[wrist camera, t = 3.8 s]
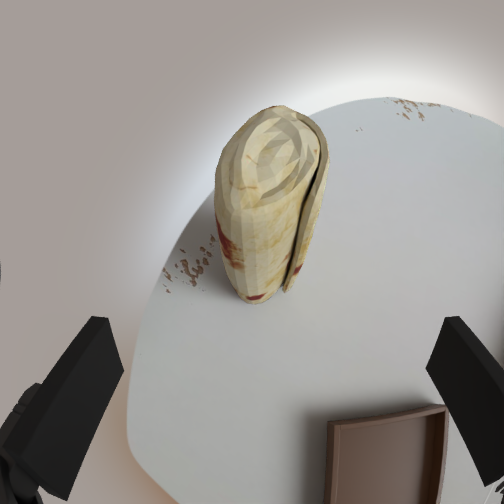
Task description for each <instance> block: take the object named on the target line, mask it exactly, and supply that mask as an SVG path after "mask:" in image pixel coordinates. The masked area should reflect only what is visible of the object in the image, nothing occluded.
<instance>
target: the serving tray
mask: <svg viewBox="0 0 504 504" xmlns="http://www.w3.org/2000/svg"><path fill="white" fill-rule="evenodd" d="M448 427H449V410H448V408H447V406H446V405H442V404H435V405H431V406H426V407H422V408H417V409H412V410H407V411H402V412H396V413H391V414H385V415H378V416H371V417H364V418H356V419H348V420H338V421H328V426H327V456H326V476H325V492H324V504H440V499H441V493H442V487H443V480H444V473H445V464H446V455H447V443H448Z"/></svg>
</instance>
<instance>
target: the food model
mask: <svg viewBox="0 0 504 504" xmlns="http://www.w3.org/2000/svg"><path fill="white" fill-rule="evenodd" d="M329 162H330V158H329V151H328V144H327V141H326V138H325V136H324V134H323V132H322V131H321V129H320V128H319V126H318V125H317V124H316V123H315V122H314V121H312V120H311V119H310V118H309V117H307V116H305V115H303V114H301V113H298V112H296V111H294V110H292V109H290V108H288V107H286V106H272V107H269V108H266V109H264V110H261V111H260V112H258V113H257V114H255V115H254V116H253V117H251V118H250V119H249V120H248V121H247V122H246V123H245V124H244V125H243V126H242V127H241V128H240V129H239V130H238V131H237V132H236V133H235V134H234V135H233V137H232V138H231V139H230V141H229V142H228V143H227V145H226V146H225V147H224V149H223V150H222V153H221V156H220V159H219V162H218V165H217V168H216V173H215V195H214V206H215V217H216V225H217V232H218V239H219V244H220V250H221V255H222V259H223V263H224V267H225V271H226V273H227V276H228V278H229V280H230V282H231V283H232V285H233V287H234V289H235V291H236V292H237V293H238V295H239V296H240V298H241V299H243V300H244V301H245V302H246V303H250V304H259V303H263V302H264V301H266V300H268V299H269V298H270V297H271V296H272V295H273V294H274V293H275V292H276V291H277V290H278V289H279V288H280V287H281V285H282V284H283V283H284V284H283V289H282V290H283V291H284V293H285V292H287V291H289V290H290V288H291V287H292V285H293V283H294V281H295V279H296V277H297V275H298V273H299V271H300V269H301V267H302V265H303V262H304V259H305V257H306V253H307V250H308V247H309V244H310V241H311V238H312V234H313V230H314V227H315V224H316V220H317V217H318V214H319V211H320V207H321V203H322V199H323V194H324V190H325V185H326V180H327V174H328V168H329Z"/></svg>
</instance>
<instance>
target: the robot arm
mask: <svg viewBox="0 0 504 504" xmlns="http://www.w3.org/2000/svg"><path fill="white" fill-rule="evenodd" d="M425 369H426V370H427V372H428V374H429V376H430V377H431V379H432V381H433V383H434V384H435V386H436V388H437V390H438V392H439V393H440V395H441V397H442V399H443V401H444V403H445V405H446V406H447V408H448V410H449V412H450V414H451V416H452V418H453V420H454V422H455V424H456V426H457V428H458V430H459V432H460V434H461V436H462V438H463V440H464V442H465V444H466V446H467V448H468V450H469V452H470V455H471V457H472V459H473V461H474V463H475V466H476V468H477V470H478V472H479V475H480V477H481V479H482V482H483V484H484V486H485V487H486V486H488V485H490V484H492V483H493V482H495V481H497V480H499V479H500V478H501V477H503V476H504V370H503V369H502V368H501V366H500V365H499V364H498V362H497V361H496V360H495V359H494V357H493V356H492V355H491V354H490V352H489V351H488V350H487V349H486V347H485V346H484V345H483V344H482V342H481V341H480V340H479V339H478V338H477V336H476V335H475V334H474V333H473V332H472V331H471V329H470V328H469V327H468V326H467V325H466V324H465V322H464V321H463V320H462V319H461V318H460V317H459V316H453V317H445V319H444V322H443V325H442V328H441V331H440V333H439V336H438V339H437V341H436V344H435V347H434V349H433V352H432V354H431V357H430V359H429V361H428V364H427V366H426V368H425ZM123 372H124V369H123V366H122V363H121V360H120V357H119V354H118V350H117V347H116V344H115V340H114V337H113V334H112V330H111V327H110V323H109V319H108V318H105V317H95V316H91V318H90V319H89V320H88V321H87V323H86V324H85V325H84V327H83V328H82V329H81V331H80V332H79V333H78V335H77V336H76V337H75V339H74V340H73V341H72V342H71V344H70V345H69V347H68V348H67V349H66V351H65V352H64V353H63V355H62V356H61V357H60V359H59V360H58V362H57V363H56V364H55V366H54V367H53V369H52V370H51V371H50V373H49V374H48V376H47V377H46V379H45V380H44V381H43V383H42V384H39V383H35V384H34V385H32V386H31V387H30V388H28V389H27V390H26V391H25V392H24V393H23V395H22V396H21V398H20V399H19V401H18V404H16V405H15V407H14V408H13V412H11V413H10V414H9V416H8V417H7V419H6V420H5V422H4V423H3V425H2V427H1V428H0V504H43V502H42V498H41V496H40V494H39V492H38V491H37V490H38V487H39V485H40V486H41V487H42V488H43V489H44V490H45V491H46V492H48V493H49V494H51V495H53V496H56V497H58V498H60V499H63V500H65V501H67V500H68V497H69V494H70V492H71V490H72V487H73V484H74V482H75V479H76V477H77V474H78V472H79V469H80V467H81V465H82V462H83V460H84V457H85V455H86V453H87V450H88V448H89V446H90V443H91V441H92V439H93V437H94V434H95V432H96V430H97V427H98V425H99V423H100V421H101V419H102V417H103V414H104V412H105V410H106V407H107V406H108V403H109V401H110V399H111V397H112V395H113V393H114V391H115V389H116V387H117V384H118V382H119V380H120V378H121V376H122V374H123ZM503 487H504V481H503V482H502V483H501V484H500V485H499V486H498V487H497V488H496V491H495V492H498V491H499V490H500V489H502V488H503ZM500 493H502V494H503V498H502V501H501V504H504V489H503V490H502V491H501V492H500Z"/></svg>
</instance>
